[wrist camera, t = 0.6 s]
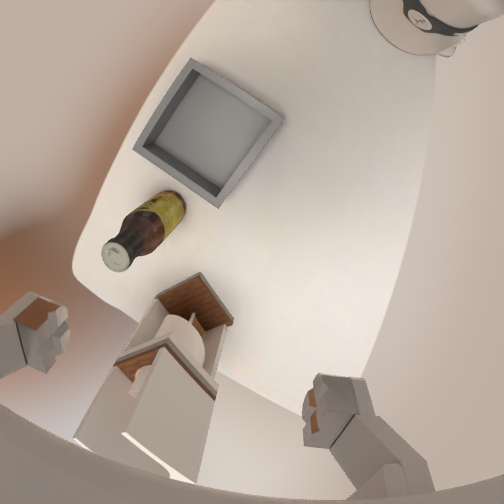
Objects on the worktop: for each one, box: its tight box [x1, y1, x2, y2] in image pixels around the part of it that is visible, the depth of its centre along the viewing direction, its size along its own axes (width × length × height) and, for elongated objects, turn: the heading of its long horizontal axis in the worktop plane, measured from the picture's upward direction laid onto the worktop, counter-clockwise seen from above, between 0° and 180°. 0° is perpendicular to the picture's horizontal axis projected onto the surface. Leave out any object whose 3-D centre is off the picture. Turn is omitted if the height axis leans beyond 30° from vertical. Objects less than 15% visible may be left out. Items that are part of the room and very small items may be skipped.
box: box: [133, 58, 285, 209], centre depth 45 cm, size 16×16×6 cm
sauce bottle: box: [101, 191, 185, 272], centre depth 44 cm, size 6×6×20 cm
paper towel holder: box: [73, 272, 234, 484], centre depth 45 cm, size 11×11×35 cm
